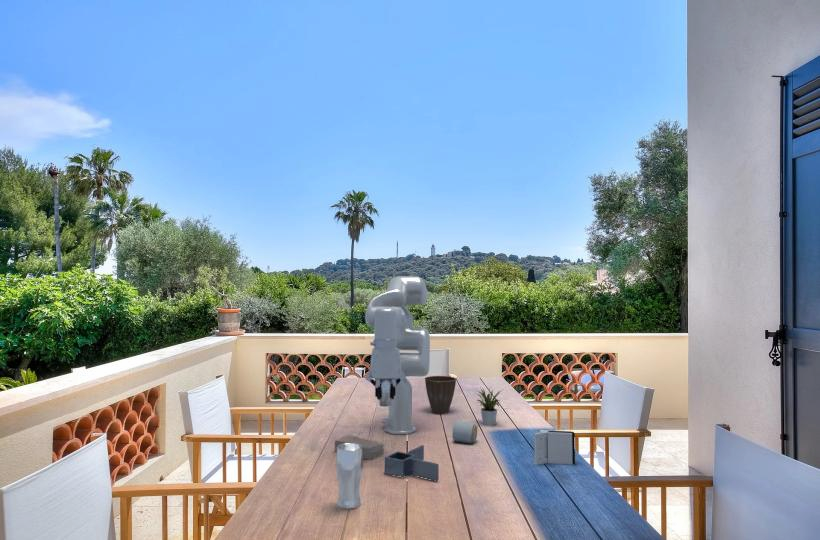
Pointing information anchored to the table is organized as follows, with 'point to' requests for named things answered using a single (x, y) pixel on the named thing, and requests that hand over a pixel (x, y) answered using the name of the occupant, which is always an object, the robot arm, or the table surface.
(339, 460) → the beer glass
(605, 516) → the table surface
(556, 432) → the hinge
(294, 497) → the table surface
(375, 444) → the brick
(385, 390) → the hinge pin
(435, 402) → the plant pot
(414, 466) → the grey cross-shaped holder
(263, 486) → the table surface
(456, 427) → the ceramic mug
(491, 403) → the house plant
